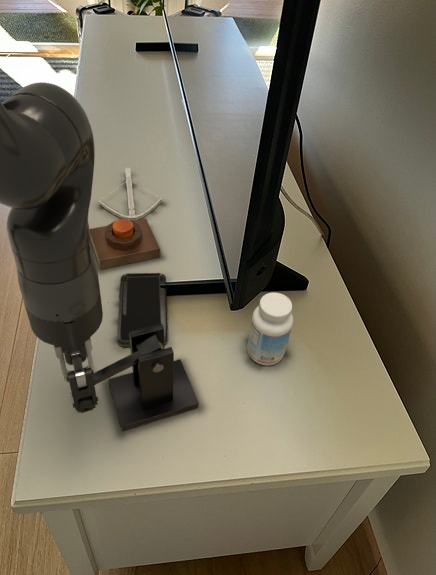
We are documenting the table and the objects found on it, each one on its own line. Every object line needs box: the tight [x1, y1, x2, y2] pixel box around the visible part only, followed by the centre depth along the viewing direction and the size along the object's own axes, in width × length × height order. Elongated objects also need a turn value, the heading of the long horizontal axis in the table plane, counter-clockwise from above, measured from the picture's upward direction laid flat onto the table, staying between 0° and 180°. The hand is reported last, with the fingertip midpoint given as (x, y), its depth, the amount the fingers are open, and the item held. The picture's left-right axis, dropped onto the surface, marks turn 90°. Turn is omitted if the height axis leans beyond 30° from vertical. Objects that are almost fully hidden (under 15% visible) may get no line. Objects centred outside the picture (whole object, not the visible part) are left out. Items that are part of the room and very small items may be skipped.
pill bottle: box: [246, 292, 294, 366], centre depth 74 cm, size 6×6×11 cm
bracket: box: [107, 323, 199, 432], centre depth 67 cm, size 11×8×13 cm
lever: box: [93, 335, 165, 386], centre depth 63 cm, size 12×4×2 cm, turn 112°
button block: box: [89, 218, 161, 270], centre depth 91 cm, size 11×9×4 cm
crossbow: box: [98, 167, 163, 221], centre depth 103 cm, size 16×13×2 cm
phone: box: [116, 272, 169, 348], centre depth 82 cm, size 8×1×15 cm
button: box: [113, 218, 134, 239], centre depth 89 cm, size 4×4×2 cm
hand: (79, 379), depth 62 cm, fingers open, 8 cm apart
